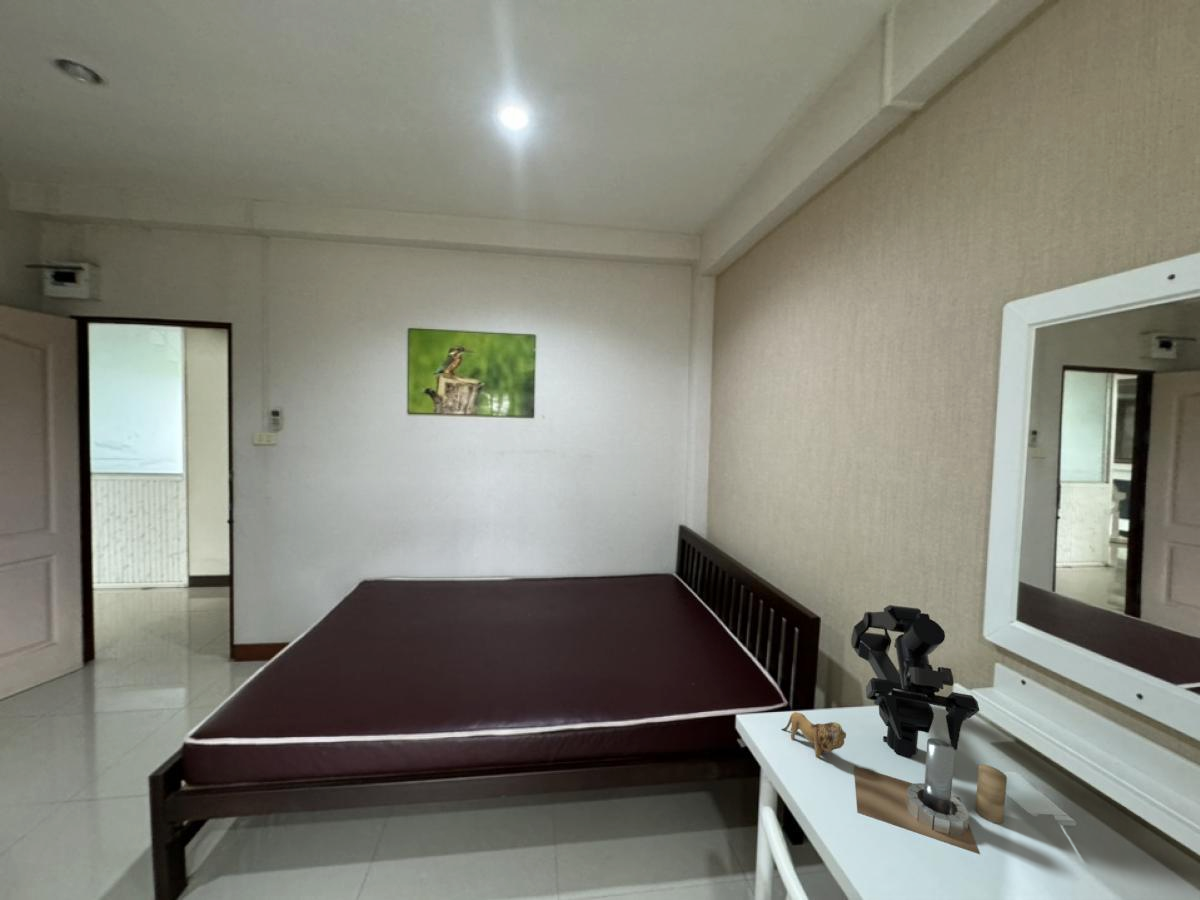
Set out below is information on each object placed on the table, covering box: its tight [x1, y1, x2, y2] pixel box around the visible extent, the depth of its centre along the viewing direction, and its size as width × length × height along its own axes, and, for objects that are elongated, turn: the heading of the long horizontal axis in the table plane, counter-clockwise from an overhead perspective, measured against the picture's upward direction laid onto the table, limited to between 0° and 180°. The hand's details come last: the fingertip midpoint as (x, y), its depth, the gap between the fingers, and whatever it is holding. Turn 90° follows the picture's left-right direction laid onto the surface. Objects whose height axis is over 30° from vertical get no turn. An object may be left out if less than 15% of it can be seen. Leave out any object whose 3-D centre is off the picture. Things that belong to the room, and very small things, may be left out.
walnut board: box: [853, 765, 981, 855], centre depth 90 cm, size 14×18×1 cm
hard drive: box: [1002, 771, 1077, 827], centre depth 94 cm, size 2×8×12 cm
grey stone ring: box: [906, 782, 970, 836], centre depth 88 cm, size 9×9×2 cm
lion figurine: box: [780, 711, 847, 759], centre depth 105 cm, size 15×5×9 cm, turn 37°
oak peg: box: [974, 764, 1007, 825], centre depth 88 cm, size 4×4×9 cm
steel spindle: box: [923, 737, 955, 815], centre depth 87 cm, size 4×4×13 cm
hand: (927, 744), depth 93 cm, fingers open, 9 cm apart
